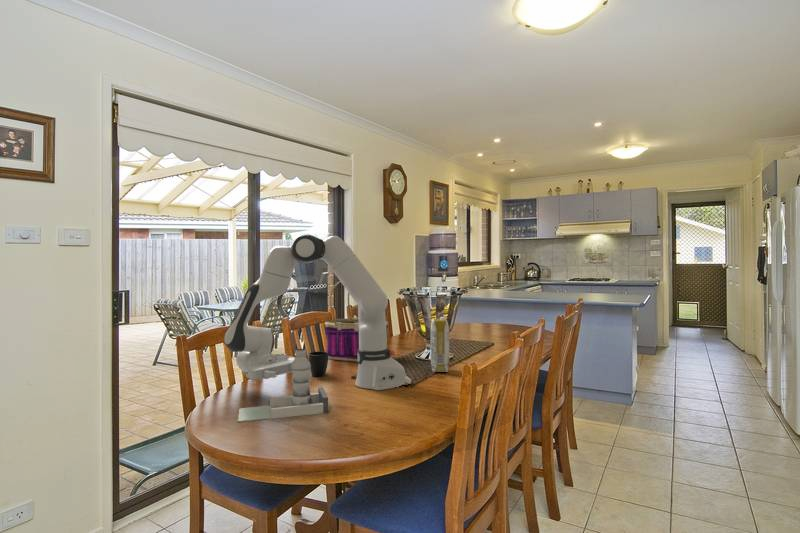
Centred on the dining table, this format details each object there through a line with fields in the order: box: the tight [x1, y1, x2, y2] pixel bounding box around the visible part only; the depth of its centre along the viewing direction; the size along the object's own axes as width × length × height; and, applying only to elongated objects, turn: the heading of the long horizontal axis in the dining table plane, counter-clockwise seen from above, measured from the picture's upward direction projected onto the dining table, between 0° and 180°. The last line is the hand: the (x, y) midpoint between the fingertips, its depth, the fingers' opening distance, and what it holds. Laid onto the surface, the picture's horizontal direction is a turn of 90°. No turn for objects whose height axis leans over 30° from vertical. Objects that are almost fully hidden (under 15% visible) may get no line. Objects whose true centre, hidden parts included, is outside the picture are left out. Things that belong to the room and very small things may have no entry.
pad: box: [237, 404, 272, 423], centre depth 149 cm, size 10×12×1 cm
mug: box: [308, 350, 329, 378], centre depth 198 cm, size 8×12×10 cm
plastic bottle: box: [291, 348, 313, 406], centre depth 153 cm, size 6×7×20 cm
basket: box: [324, 280, 389, 363], centre depth 229 cm, size 31×20×40 cm, turn 69°
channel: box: [269, 386, 329, 420], centre depth 153 cm, size 18×12×5 cm
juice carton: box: [430, 316, 450, 372], centre depth 202 cm, size 9×8×24 cm
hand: (287, 372), depth 159 cm, fingers open, 8 cm apart
